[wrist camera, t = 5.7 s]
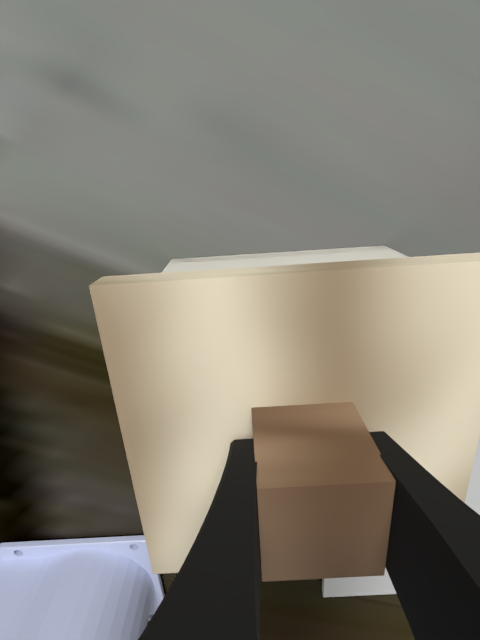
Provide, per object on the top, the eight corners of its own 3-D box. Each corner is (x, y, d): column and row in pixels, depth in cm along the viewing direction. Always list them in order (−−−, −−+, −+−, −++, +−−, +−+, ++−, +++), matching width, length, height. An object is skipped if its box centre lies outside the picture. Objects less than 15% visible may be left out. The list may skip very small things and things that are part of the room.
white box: (195, 428, 18) (183, 503, 14) (171, 259, 15) (146, 291, 11) (367, 418, 18) (406, 491, 14) (384, 245, 15) (442, 273, 11)
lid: (158, 548, 14) (129, 681, 10) (102, 276, 10) (22, 329, 6) (437, 533, 14) (513, 663, 10) (491, 251, 10) (649, 290, 6)
